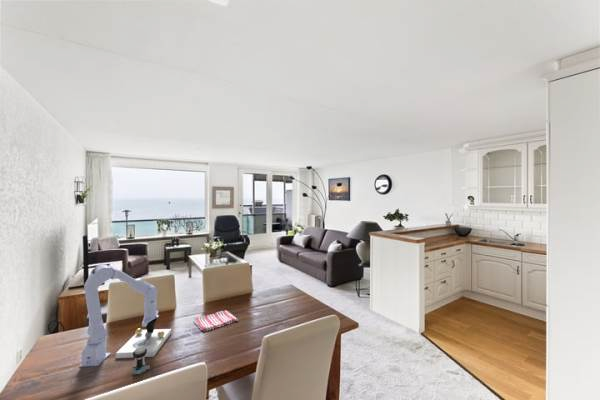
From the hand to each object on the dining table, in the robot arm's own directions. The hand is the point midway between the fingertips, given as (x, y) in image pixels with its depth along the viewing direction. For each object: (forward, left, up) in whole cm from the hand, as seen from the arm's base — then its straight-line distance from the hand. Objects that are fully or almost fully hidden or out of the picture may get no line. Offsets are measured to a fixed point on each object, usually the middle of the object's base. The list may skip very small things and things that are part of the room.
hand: (150, 333), depth 136 cm
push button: (-26, -8, -4) cm, 27 cm away
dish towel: (+20, -30, -5) cm, 37 cm away
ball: (-2, 0, 0) cm, 2 cm away
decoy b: (-2, -6, 0) cm, 6 cm away
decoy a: (+2, +7, 0) cm, 7 cm away
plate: (-4, 0, -4) cm, 6 cm away
